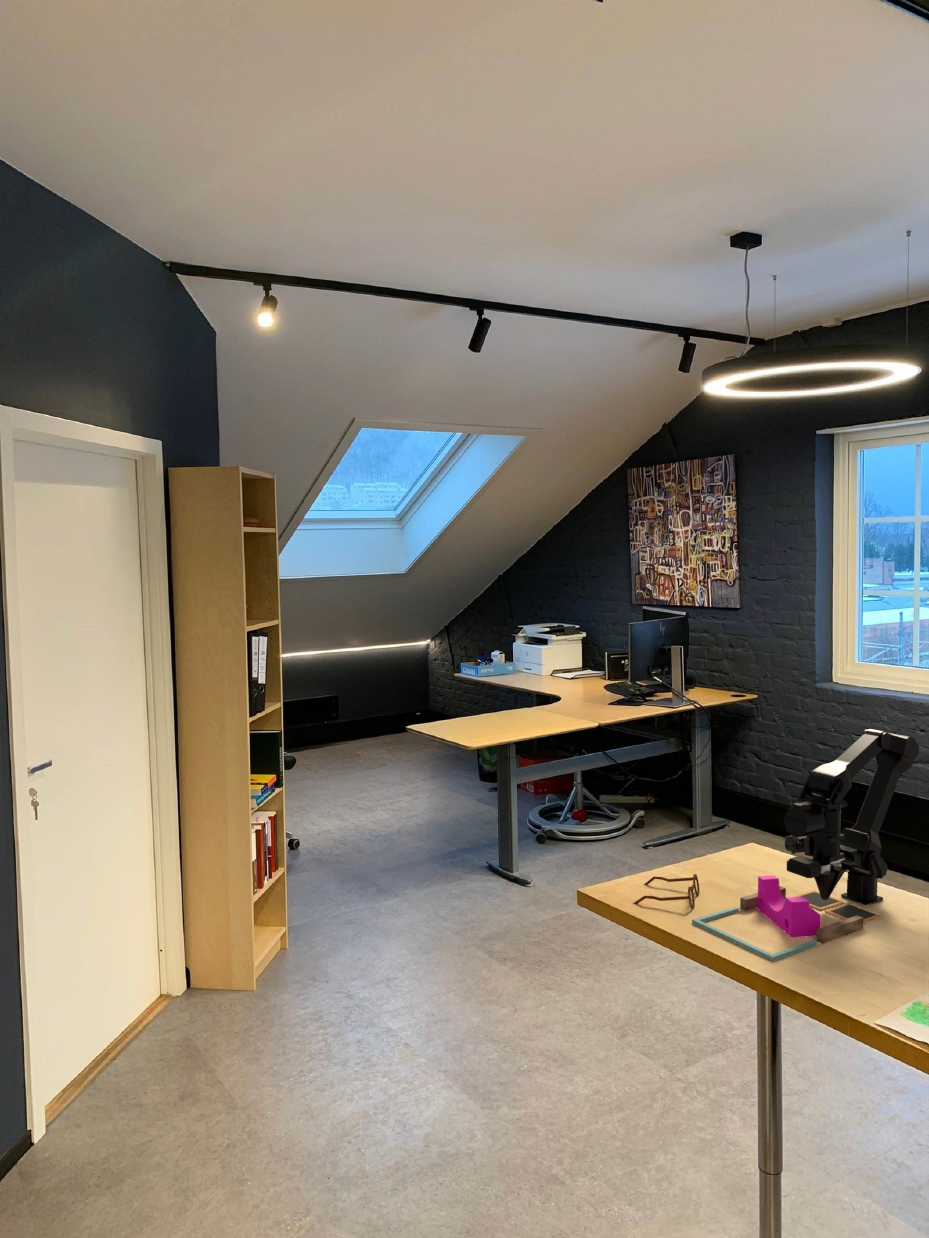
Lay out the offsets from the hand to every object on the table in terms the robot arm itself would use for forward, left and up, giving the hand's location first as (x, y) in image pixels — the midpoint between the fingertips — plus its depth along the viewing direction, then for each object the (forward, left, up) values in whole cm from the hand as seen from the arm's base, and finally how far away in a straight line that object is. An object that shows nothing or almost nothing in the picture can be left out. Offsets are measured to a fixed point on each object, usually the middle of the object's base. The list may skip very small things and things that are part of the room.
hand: (824, 899), depth 195 cm
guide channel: (+8, 0, -3) cm, 8 cm away
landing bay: (+22, 0, -3) cm, 22 cm away
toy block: (+11, -1, -3) cm, 12 cm away
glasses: (+23, -24, -3) cm, 34 cm away
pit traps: (-3, 0, -3) cm, 4 cm away
